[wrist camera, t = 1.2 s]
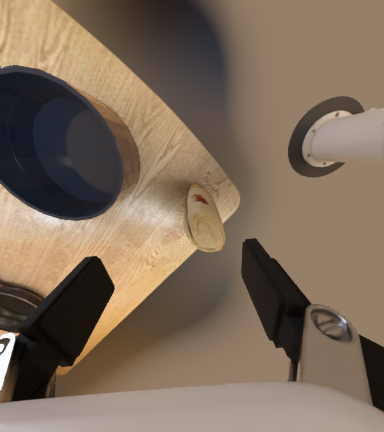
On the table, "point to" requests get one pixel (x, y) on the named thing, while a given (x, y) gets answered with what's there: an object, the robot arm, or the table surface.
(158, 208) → the table surface
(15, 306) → the frying pan
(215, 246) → the food model
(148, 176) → the table surface
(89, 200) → the pot
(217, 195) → the table surface
